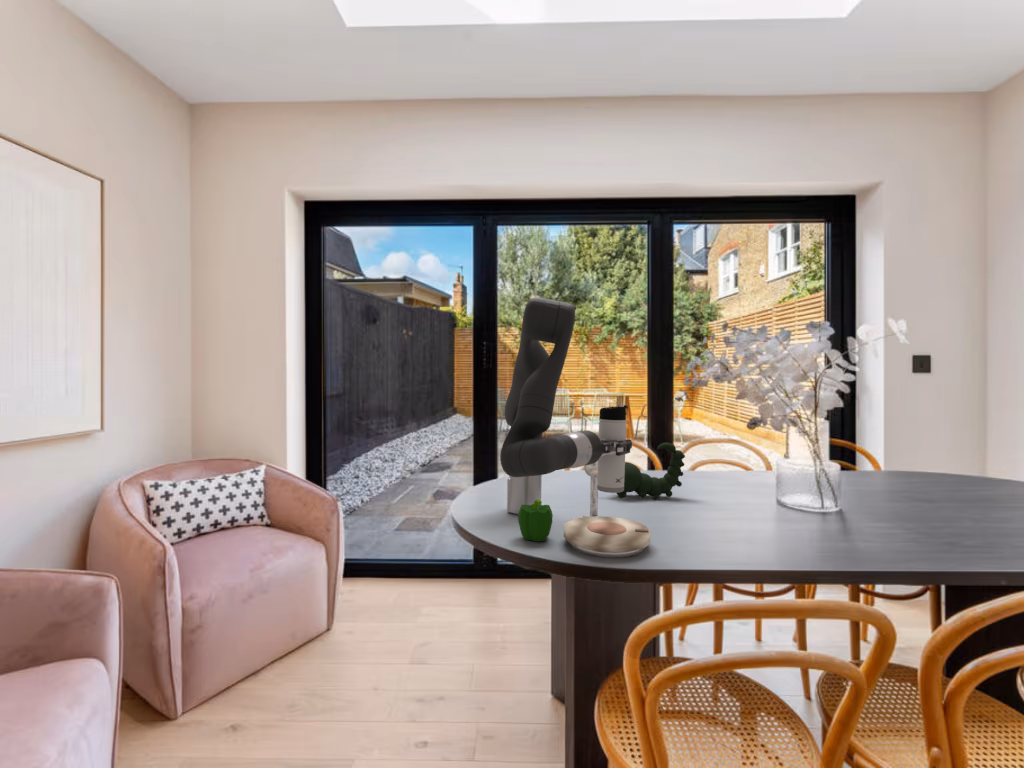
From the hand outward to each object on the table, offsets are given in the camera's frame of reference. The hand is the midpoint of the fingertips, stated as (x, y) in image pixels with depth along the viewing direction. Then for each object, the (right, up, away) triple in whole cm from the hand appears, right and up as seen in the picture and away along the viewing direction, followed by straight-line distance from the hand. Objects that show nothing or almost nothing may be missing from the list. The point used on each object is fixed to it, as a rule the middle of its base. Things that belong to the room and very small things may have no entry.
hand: (617, 442), depth 128 cm
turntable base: (-3, -24, -1) cm, 24 cm away
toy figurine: (+17, -23, +44) cm, 52 cm away
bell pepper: (-19, -24, +2) cm, 31 cm away
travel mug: (-2, -11, -1) cm, 11 cm away
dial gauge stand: (-4, -23, +13) cm, 27 cm away
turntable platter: (-3, -22, -2) cm, 22 cm away
